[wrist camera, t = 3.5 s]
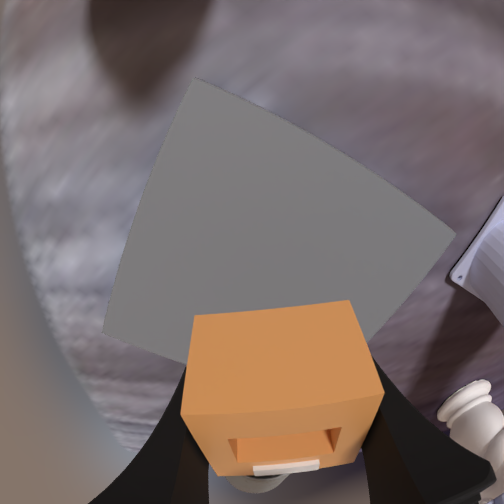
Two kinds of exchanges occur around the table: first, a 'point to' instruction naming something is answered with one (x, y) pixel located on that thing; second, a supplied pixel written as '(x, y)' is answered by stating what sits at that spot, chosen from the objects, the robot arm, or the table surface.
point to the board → (261, 228)
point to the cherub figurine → (477, 429)
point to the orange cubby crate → (280, 389)
